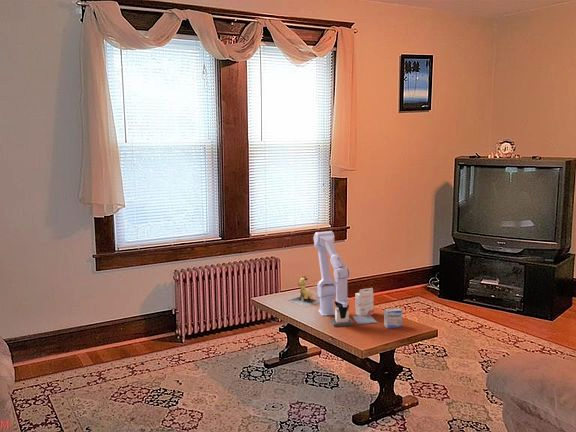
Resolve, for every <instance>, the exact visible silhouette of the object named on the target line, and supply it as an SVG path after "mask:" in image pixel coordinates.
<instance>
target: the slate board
mask: <svg viewBox="0 0 576 432" xmlns="http://www.w3.org/2000/svg"><path fill="white" fill-rule="evenodd" d="M352 318H353V320H354V321H355V322H356V323H357V325H370V324H377V323H378V321H377V320H375V317H373V315H365V316H358V315H354V316H352Z"/></svg>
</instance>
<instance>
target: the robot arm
mask: <svg viewBox="0 0 576 432" xmlns="http://www.w3.org/2000/svg"><path fill="white" fill-rule="evenodd" d="M313 244H314V248H315V249H316V251H317V256H318V264H319V269H320V277H321V279H320V280H319V281H318V282H317V284H316V293H317V297H320V300H319V302H320V303H319V309H318V310H317V311H318V313H319V314H320V316H322V317H324V316H325V317H326V316H335V307H338V308H339V311H340V317H341V319H343V318H345V317H346V312H347V309H349V308H350V305H349V304H348V302H349V301H350V300H351V299H350V298H349V297H348V278H349V277H350V269H349V267H348V266H347V265H346V264H344V261H343V258H342V257H341V255H340V254H338V251H337V249H336V246H335V234H334V232H333V231H332V230H329V231H328V230H327V231H319V232H318V231H317V232H315V233H314V234H313ZM328 254H329V256H330V259H329V256H328ZM329 262H330V264H331V266H332V268H333V277H334V280H333V279H332V278H331V271H330V264H329Z"/></svg>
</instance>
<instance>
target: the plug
mask: <svg viewBox="0 0 576 432" xmlns="http://www.w3.org/2000/svg"><path fill="white" fill-rule="evenodd" d="M334 312H335V315H334V318H335V321H336V323H341V322H349V317H350V316H349V315H350V314H349V312H350V311H349V308H348V309H347V312H346V317H345V318H343V319H341V317H340V311H339V308H338V307H336V306H334Z"/></svg>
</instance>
